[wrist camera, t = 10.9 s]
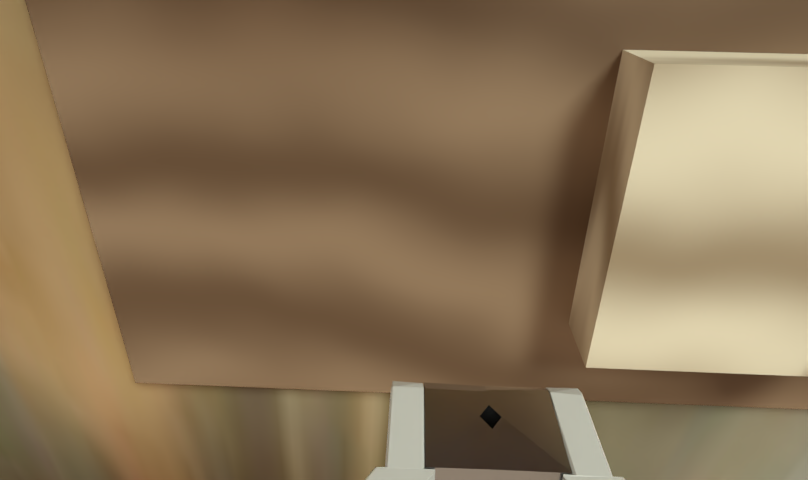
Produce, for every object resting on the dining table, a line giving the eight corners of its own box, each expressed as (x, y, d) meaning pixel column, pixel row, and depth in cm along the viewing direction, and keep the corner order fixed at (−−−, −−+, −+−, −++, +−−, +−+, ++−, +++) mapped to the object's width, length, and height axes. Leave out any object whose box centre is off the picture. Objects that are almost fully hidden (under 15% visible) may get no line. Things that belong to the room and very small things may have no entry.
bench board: (26, -117, 16) (-155, -154, 11) (1150, -103, 15) (1509, -138, 10) (151, 359, 24) (80, 460, 19) (875, 387, 23) (996, 500, 18)
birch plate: (622, 49, 16) (654, 63, 14) (898, 56, 15) (977, 71, 13) (568, 323, 20) (585, 367, 18) (780, 331, 20) (824, 377, 18)
